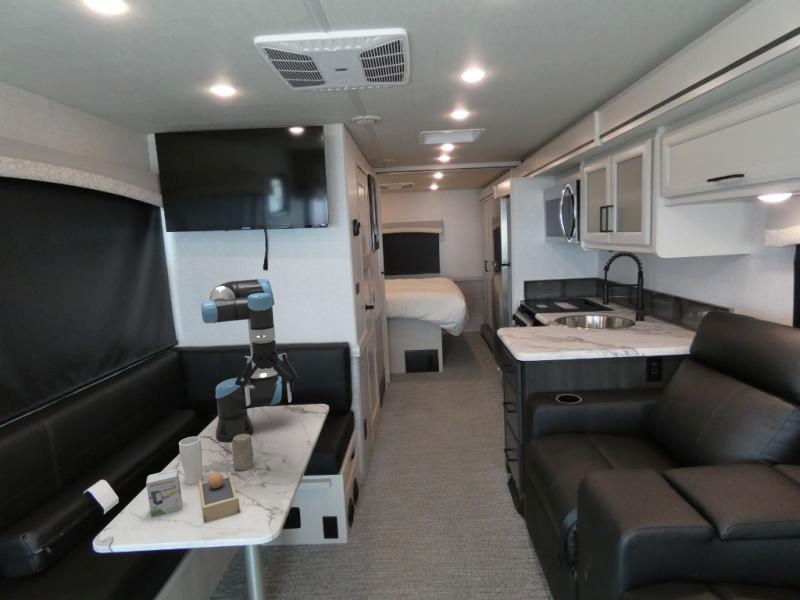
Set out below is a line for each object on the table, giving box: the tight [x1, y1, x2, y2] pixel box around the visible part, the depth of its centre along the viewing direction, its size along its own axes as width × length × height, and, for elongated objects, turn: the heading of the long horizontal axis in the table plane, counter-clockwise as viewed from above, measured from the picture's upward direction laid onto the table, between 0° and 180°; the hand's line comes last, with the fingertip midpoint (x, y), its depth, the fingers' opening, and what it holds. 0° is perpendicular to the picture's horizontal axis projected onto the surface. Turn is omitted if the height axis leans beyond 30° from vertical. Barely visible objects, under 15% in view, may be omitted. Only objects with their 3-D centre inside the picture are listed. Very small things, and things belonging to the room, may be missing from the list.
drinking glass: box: [178, 436, 204, 486], centre depth 159 cm, size 7×7×15 cm
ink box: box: [145, 469, 183, 518], centre depth 142 cm, size 9×5×12 cm, turn 114°
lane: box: [198, 471, 241, 523], centre depth 148 cm, size 24×10×5 cm, turn 26°
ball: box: [207, 471, 225, 489], centre depth 154 cm, size 5×5×5 cm
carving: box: [231, 434, 255, 471], centre depth 167 cm, size 6×8×12 cm
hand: (269, 402), depth 157 cm, fingers open, 13 cm apart
